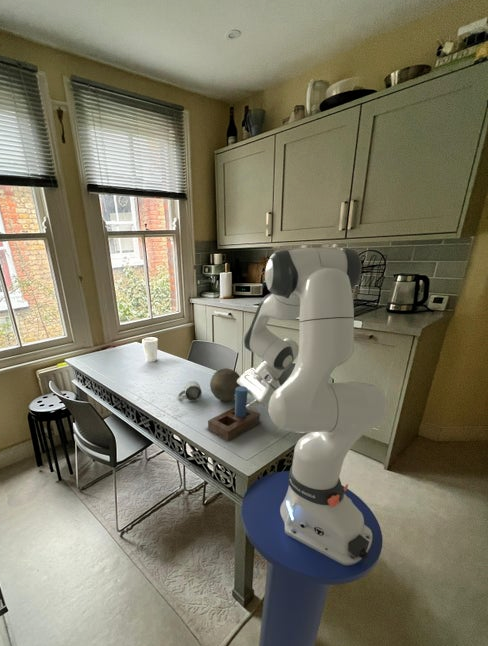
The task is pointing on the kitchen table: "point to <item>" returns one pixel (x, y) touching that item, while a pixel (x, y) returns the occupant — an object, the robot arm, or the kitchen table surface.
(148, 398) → the kitchen table surface
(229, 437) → the peg block
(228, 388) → the cantaloupe
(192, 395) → the ceramic mug
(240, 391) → the peg
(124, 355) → the kitchen table surface
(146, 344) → the foam cup
